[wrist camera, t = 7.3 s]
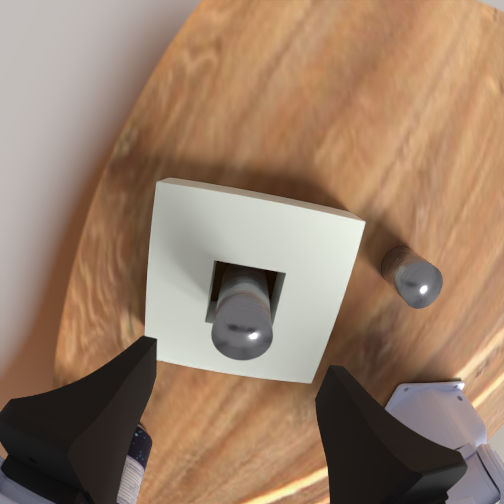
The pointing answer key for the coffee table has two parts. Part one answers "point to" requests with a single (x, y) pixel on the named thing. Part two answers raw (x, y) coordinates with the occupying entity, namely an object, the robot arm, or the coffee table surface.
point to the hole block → (253, 255)
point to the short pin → (411, 277)
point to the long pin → (243, 314)
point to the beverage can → (134, 467)
